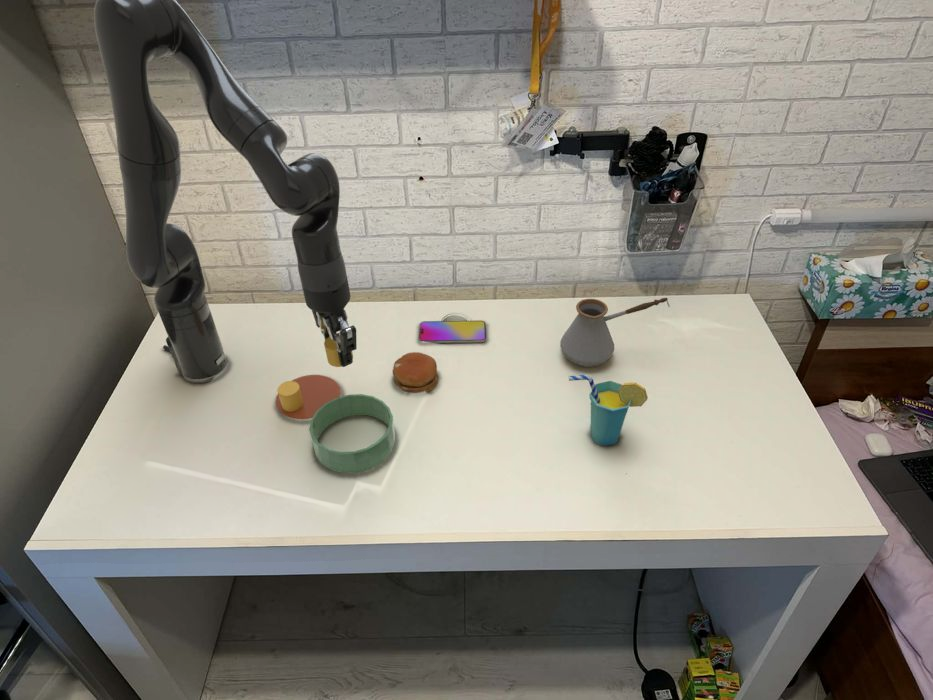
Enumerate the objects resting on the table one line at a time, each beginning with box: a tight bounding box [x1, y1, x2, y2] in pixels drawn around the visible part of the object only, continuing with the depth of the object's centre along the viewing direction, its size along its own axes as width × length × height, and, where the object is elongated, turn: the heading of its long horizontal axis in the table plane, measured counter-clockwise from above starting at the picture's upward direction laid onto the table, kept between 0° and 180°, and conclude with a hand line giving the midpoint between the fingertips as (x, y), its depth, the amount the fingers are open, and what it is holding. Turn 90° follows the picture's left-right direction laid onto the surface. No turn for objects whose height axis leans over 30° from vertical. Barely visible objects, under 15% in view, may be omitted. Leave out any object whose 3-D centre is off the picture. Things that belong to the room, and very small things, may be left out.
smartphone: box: [418, 320, 487, 344], centre depth 148 cm, size 7×1×15 cm
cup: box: [568, 374, 648, 447], centre depth 119 cm, size 14×8×15 cm, turn 84°
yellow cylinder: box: [277, 380, 303, 412], centre depth 129 cm, size 4×4×4 cm
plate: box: [275, 374, 342, 420], centre depth 133 cm, size 13×13×1 cm
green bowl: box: [308, 393, 396, 474], centre depth 121 cm, size 15×15×6 cm
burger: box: [392, 351, 439, 393], centre depth 136 cm, size 10×9×5 cm
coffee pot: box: [559, 297, 671, 368], centre depth 137 cm, size 21×12×15 cm, turn 89°
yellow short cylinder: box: [323, 337, 354, 368], centre depth 118 cm, size 5×5×4 cm
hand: (340, 356), depth 119 cm, fingers closed on yellow short cylinder, 4 cm apart
